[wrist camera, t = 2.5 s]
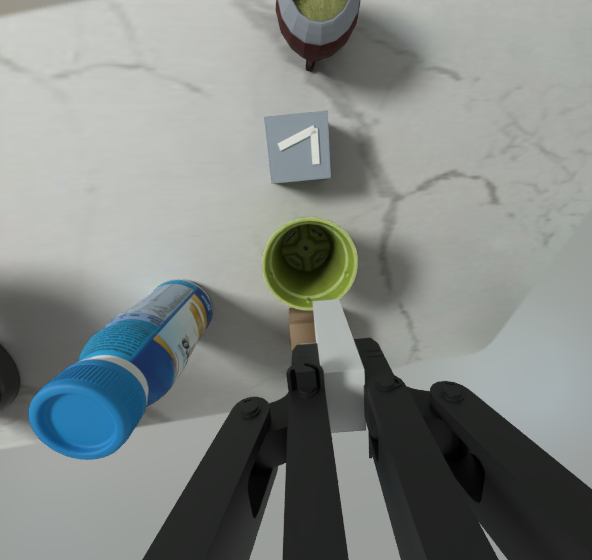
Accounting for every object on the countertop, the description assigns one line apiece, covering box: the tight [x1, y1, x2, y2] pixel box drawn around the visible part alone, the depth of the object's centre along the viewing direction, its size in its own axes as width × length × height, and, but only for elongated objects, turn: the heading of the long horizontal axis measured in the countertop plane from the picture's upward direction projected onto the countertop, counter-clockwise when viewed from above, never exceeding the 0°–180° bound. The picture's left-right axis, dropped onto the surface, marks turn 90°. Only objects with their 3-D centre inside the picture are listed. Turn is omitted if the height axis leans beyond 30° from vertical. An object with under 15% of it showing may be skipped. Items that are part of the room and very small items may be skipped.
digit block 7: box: [264, 111, 331, 184], centre depth 30 cm, size 6×6×5 cm
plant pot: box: [262, 217, 358, 310], centre depth 32 cm, size 9×9×9 cm
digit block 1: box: [289, 308, 316, 351], centre depth 37 cm, size 6×6×5 cm
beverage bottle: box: [29, 280, 213, 460], centre depth 29 cm, size 8×8×20 cm
